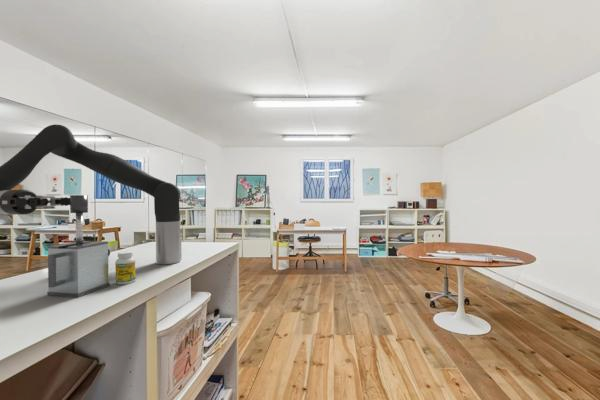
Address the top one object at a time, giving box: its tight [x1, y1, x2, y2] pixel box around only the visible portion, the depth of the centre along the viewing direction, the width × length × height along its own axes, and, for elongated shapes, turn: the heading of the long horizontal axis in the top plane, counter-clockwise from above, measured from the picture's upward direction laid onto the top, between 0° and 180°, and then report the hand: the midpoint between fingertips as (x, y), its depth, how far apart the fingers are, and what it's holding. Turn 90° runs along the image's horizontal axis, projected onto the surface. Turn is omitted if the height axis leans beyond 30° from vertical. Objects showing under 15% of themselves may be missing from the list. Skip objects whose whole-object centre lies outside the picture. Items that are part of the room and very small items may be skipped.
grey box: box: [46, 240, 111, 298], centre depth 78 cm, size 13×10×14 cm
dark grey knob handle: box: [69, 194, 89, 245], centre depth 79 cm, size 7×7×18 cm
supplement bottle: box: [115, 250, 137, 285], centre depth 87 cm, size 5×5×10 cm
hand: (58, 201), depth 81 cm, fingers open, 8 cm apart
